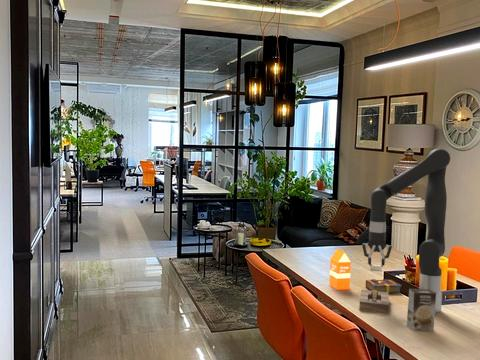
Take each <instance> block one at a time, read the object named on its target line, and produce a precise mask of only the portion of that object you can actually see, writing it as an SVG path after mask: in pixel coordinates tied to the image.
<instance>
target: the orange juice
mask: <svg viewBox="0 0 480 360" xmlns="http://www.w3.org/2000/svg"><path fill="white" fill-rule="evenodd" d="M329 263H330V264H329V286H330V287H331V288H333V289H335V290H337V291H340V290H350V288H351V285H350V283H351V267H352V266H351V263H352V262H351V260H350V258H349V257H348V255H347V253H346V252H345V251H344V250H341V249H339V248H337V249H336V250H335V252H334V253H333V254H332V256H331V258H330V259H329Z"/></svg>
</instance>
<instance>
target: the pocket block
mask: <svg viewBox="0 0 480 360" xmlns="http://www.w3.org/2000/svg"><path fill="white" fill-rule="evenodd" d="M372 295H373V291H370V290H369V289H361V290H360V297H359V308H358V310H359V311H367V312H371V313H372V312H374V313H381V314H389V313H390V298H389V297H390V296H389V295H390V293H388V292H379V291H377V299H376V302H373V298H372Z"/></svg>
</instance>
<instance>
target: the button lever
mask: <svg viewBox="0 0 480 360" xmlns="http://www.w3.org/2000/svg"><path fill="white" fill-rule="evenodd" d="M372 298H373V302H376V299H377V291H374V290H373V295H372Z"/></svg>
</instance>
